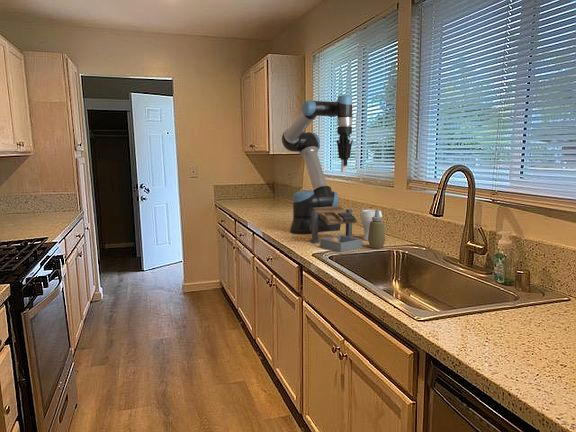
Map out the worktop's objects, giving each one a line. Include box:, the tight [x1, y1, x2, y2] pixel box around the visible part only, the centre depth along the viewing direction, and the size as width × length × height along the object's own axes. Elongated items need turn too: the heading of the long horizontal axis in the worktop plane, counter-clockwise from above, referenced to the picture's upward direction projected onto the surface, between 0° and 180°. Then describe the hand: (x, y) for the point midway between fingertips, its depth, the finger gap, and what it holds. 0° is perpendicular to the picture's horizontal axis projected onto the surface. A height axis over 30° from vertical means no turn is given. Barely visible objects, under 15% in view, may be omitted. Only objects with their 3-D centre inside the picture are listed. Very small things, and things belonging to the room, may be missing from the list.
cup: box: [360, 209, 383, 242], centre depth 215 cm, size 11×11×15 cm
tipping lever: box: [310, 205, 358, 233], centre depth 213 cm, size 18×16×14 cm
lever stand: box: [309, 208, 356, 244], centre depth 214 cm, size 5×24×16 cm, turn 112°
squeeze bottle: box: [368, 208, 386, 249], centre depth 197 cm, size 8×8×18 cm
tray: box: [319, 234, 363, 253], centre depth 198 cm, size 14×14×4 cm
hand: (344, 172), depth 220 cm, fingers closed
